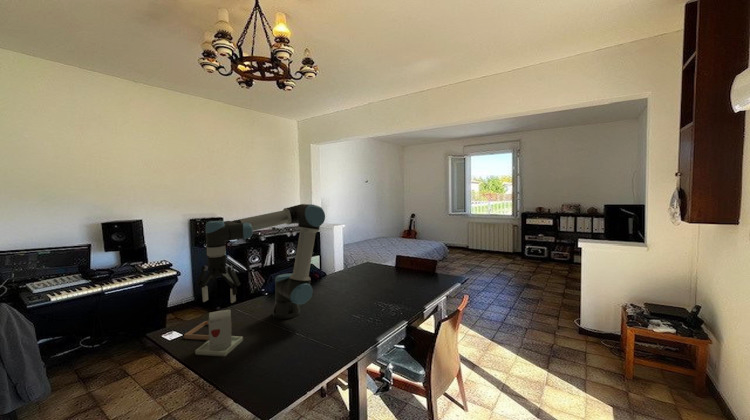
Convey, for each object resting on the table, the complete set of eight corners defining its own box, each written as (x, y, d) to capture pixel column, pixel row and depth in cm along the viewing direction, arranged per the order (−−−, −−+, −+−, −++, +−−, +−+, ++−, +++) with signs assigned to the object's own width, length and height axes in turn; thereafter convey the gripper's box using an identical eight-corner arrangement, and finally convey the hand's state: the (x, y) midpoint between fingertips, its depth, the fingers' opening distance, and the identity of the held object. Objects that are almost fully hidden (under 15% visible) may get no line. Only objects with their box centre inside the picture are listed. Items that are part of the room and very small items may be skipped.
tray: (243, 340, 143) (242, 336, 143) (225, 356, 129) (225, 352, 129) (215, 338, 145) (215, 335, 145) (195, 354, 131) (195, 350, 131)
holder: (231, 326, 158) (231, 322, 158) (212, 340, 144) (212, 336, 143) (205, 324, 160) (205, 320, 160) (184, 338, 145) (184, 334, 145)
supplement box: (209, 352, 131) (207, 319, 130) (210, 343, 139) (208, 312, 138) (232, 348, 135) (230, 315, 134) (231, 339, 143) (230, 308, 142)
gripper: (247, 253, 137) (249, 298, 138) (197, 253, 139) (199, 297, 141) (237, 257, 129) (240, 305, 131) (185, 257, 132) (188, 303, 134)
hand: (219, 301), depth 136 cm, fingers open, 13 cm apart
